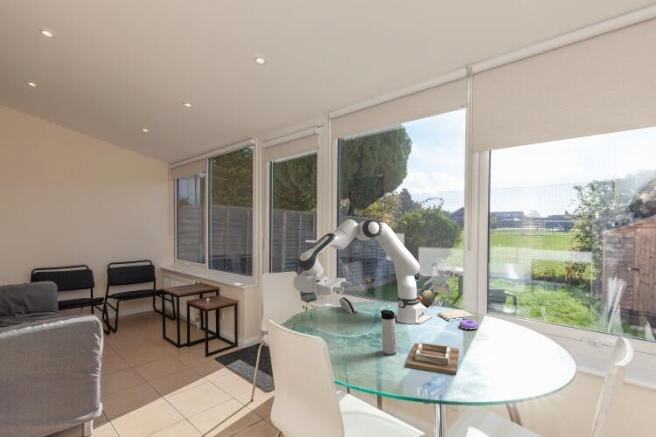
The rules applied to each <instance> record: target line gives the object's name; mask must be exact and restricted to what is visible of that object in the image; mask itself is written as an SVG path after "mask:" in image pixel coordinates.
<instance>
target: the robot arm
mask: <svg viewBox="0 0 656 437" xmlns="http://www.w3.org/2000/svg"><path fill="white" fill-rule="evenodd" d="M373 238H374V239H375V240H376V241H377V243H378V244H379V246H380V247H381V248H382V250H383V251H384V252H385V254H386V256H388V257H389V259H390V260H391V261H392V262H393V265H394V272H395V278H396V282H397V283H396V284H397V310H396V311H397V312H396V315H395V318H396V319H395V321H397V322H399V323H400V324H408V325H412V324H413V325H421V323H422V322H424V321H425V322H427V321H428V319H429V320H431V319H432V318H433V316H432V315H431V314H429V313H428V307H425V306H424V304H423V303H422V302H421V301H420V300H422V297H420V296H417V295H418V291H417V281H416V279H415V276H416V275H418V274H419V272H420V268H421V266H420V264H419V262H418V260H417V259H416V258H415V257H414V255H413V254H412V253H411V252H410V251H409V250H408V249H407V248H406V246H404V244H403V243H402V241H401V240H400V239H399V238H398V236H397V235H396V233H395V232H394V231H393V229H392V228H391V227H390V226H389V225H388V224H387V223H385V222H384V221H381V222H380V221H379V222H378V221H376V220H375V219H366V220H363V221H361V222H356V221H355V220H353V219H351V218H350V219H346V220H344V221H343V222H342V223H341V224H339V226H338V227H336V229H335V230H333V232H328V233H326V234H325V235H323V236H321V238H320V239H318V240H317V241H316V242H315V243H314V244H312V246H310V247H309V248H307V249H305V250H304V251H302V252H301V253H300V254H299V255H298V257H297V260H296V262H297V266H298V267H299V268H300V269H301V270H302V272H301V273H300V274H298V275H296V276H295V277H294V278H293V286H294V288H295V289H296V291H298V292H301V293H309V294H310V293H314V295H315V296H320V295H321V296H322V295H323V296H324V295H325V296H327V295H332V294H333V293H335V292H344V291H345V286H346V287H351V286H352V282H351V281H347V278H345V277H333V278H331V279H329V278H328V276H324V274H325V272H324V267H323V266H322V264H321V263H320V262H319V259H318V256H319V255H320V254H321V253H322V252H324V251H325V250H326V249H327V248H329V247H332V248H333V249H336V250H344V249H346V248H347V247H348V246H349V244H350V243H351V242H352V241H353V240H355V241H359V242H364V241H369V240H371V239H373ZM431 317H432V318H431ZM430 318H431V319H430ZM426 320H427V321H426ZM425 322H424V323H425ZM422 324H423V323H422Z"/></svg>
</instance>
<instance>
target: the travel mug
mask: <svg viewBox="0 0 656 437" xmlns="http://www.w3.org/2000/svg"><path fill="white" fill-rule="evenodd" d="M379 312H380V315H381V318H380V319H381V335H382V336H381V338H382V340H381V341H382V353H383V354H384V355H387V356H394V355H396V354H397V337H396V319H395V318H396V315H395V312H394V311H393V310H390V309H382V310H380V311H379Z"/></svg>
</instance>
